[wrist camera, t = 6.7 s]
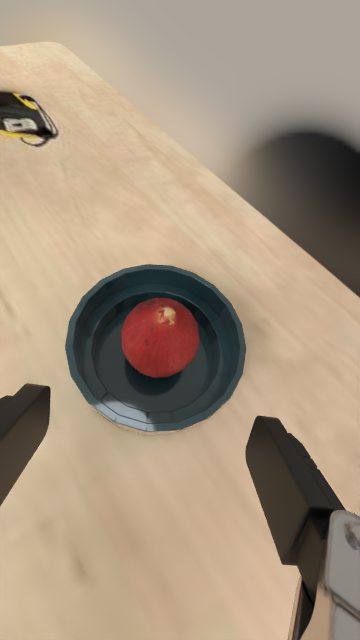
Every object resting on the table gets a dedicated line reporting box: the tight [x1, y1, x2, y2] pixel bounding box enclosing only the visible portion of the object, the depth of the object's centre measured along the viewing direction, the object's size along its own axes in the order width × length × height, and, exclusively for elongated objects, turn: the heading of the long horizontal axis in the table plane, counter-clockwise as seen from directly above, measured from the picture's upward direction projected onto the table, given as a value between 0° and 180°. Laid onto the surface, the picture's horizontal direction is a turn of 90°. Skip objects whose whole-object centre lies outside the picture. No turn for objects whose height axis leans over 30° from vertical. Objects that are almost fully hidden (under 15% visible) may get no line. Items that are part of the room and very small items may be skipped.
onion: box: [121, 298, 200, 378], centre depth 18 cm, size 6×6×8 cm
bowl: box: [65, 264, 246, 435], centre depth 20 cm, size 13×13×4 cm
